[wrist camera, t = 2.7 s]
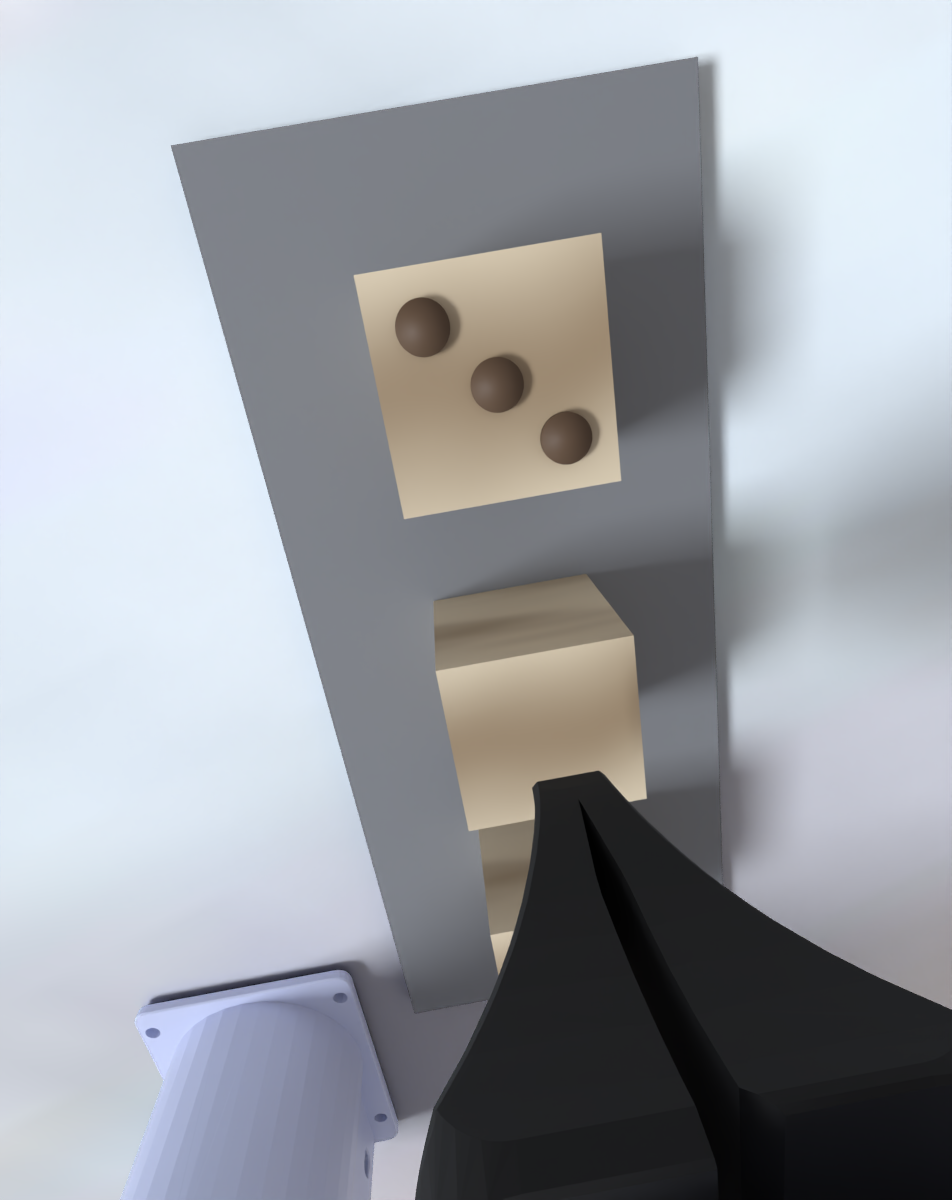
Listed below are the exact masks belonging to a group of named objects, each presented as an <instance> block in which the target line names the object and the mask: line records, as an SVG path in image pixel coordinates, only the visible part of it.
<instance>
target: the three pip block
mask: <svg viewBox="0 0 952 1200" xmlns="http://www.w3.org/2000/svg"><path fill="white" fill-rule="evenodd" d="M354 280H355V285H356V289H357V294H358V299H359V304H360V309H361V313H362V318H363V323H364V328H365V333H366V338H367V342H368V347H369V352H370V357H371V362H372V367H373V371H374V376H375V381H376V386H377V391H378V396H379V400H380V405H381V410H382V415H383V420H384V425H385V429H386V434H387V439H388V444H389V449H390V454H391V458H392V463H393V468H394V473H395V478H396V482H397V487H398V492H399V497H400V502H401V507H402V511H403V516H404V519H408V518H414V517H420V516H425V515H431V514H437V513H442V512H448V511H454V510H459V509H465V508H471V507H476V506H482V505H488V504H493V503H499V502H505V501H510V500H516V499H521V498H527V497H533V496H538V495H544V494H550V493H555V492H561V491H567V490H572V489H578V488H584V487H589V486H595V485H601V484H606V483H612V482H618V481H621V471H620V459H619V446H618V434H617V421H616V409H615V397H614V384H613V372H612V359H611V347H610V334H609V322H608V309H607V297H606V285H605V272H604V260H603V247H602V235H601V233H597V234H591V235H585V236H579V237H573V238H568V239H562V240H556V241H550V242H544V243H538V244H533V245H527V246H521V247H515V248H509V249H503V250H498V251H492V252H486V253H480V254H474V255H469V256H463V257H457V258H451V259H445V260H439V261H434V262H428V263H422V264H416V265H410V266H404V267H399V268H393V269H387V270H381V271H375V272H369V273H364V274H358V275H354Z"/></svg>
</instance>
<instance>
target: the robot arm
mask: <svg viewBox="0 0 952 1200" xmlns="http://www.w3.org/2000/svg"><path fill="white" fill-rule="evenodd" d="M532 791H533V797H534V804H535V821H534V835H533V843H532V851H531V859H530V865H529V870H528V875H527V880H526V885H525V889H524V894H523V899H522V903H521V907H520V911H519V915H518V918H517V922H516V925H515V929H514V932H513V935H512V939H511V942H510V945H509V948H508V951H507V954H506V956H505V959H504V962H503V965H502V968H501V970H500V973H499V976H498V979H497V981H496V984H495V986H494V989H493V991H492V994H491V996H490V998H489V1001H488V1003H487V1005H486V1007H485V1009H484V1012H483V1014H482V1016H481V1018H480V1020H479V1023H478V1025H477V1027H476V1029H475V1031H474V1034H473V1036H472V1038H471V1040H470V1042H469V1044H468V1046H467V1048H466V1050H465V1052H464V1054H463V1056H462V1058H461V1060H460V1062H459V1063H458V1065H457V1067H456V1069H455V1071H454V1072H453V1074H452V1076H451V1078H450V1080H449V1082H448V1083H447V1085H446V1087H445V1089H444V1091H443V1092H442V1094H441V1096H440V1098H439V1100H438V1101H437V1103H436V1105H435V1107H434V1109H433V1113H432V1117H431V1121H430V1125H429V1129H428V1133H427V1137H426V1142H425V1146H424V1151H423V1156H422V1160H421V1165H420V1170H419V1176H418V1182H417V1189H416V1197H415V1200H952V1010H951V1009H949V1008H946V1007H944V1006H942V1005H940V1004H937V1003H935V1002H933V1001H931V1000H928V999H926V998H924V997H921V996H919V995H917V994H915V993H912V992H910V991H908V990H906V989H903V988H901V987H899V986H896V985H894V984H892V983H890V982H887V981H885V980H883V979H881V978H878V977H876V976H874V975H872V974H870V973H868V972H866V971H864V970H862V969H860V968H858V967H856V966H854V965H852V964H850V963H848V962H847V961H845V960H843V959H841V958H839V957H837V956H835V955H833V954H831V953H829V952H827V951H825V950H824V949H822V948H820V947H818V946H817V945H815V944H813V943H811V942H810V941H808V940H806V939H805V938H803V937H801V936H799V935H798V934H796V933H794V932H793V931H791V930H789V929H788V928H786V927H784V926H782V925H781V924H779V923H777V922H776V921H774V920H772V919H771V918H769V917H768V916H766V915H765V914H763V913H762V912H760V911H759V910H757V909H756V908H754V907H753V906H751V905H750V904H748V903H747V902H745V901H744V900H743V899H741V898H740V897H738V896H737V895H736V894H734V893H733V892H731V891H730V890H729V889H727V888H726V887H724V886H723V885H722V884H720V883H719V882H718V881H717V880H715V879H714V878H713V877H711V876H710V875H709V874H708V873H706V872H705V871H704V870H702V869H701V868H700V867H699V866H698V865H696V864H695V863H694V862H693V861H692V860H690V859H689V858H688V857H687V856H686V855H684V854H683V853H682V852H681V851H680V850H679V849H678V848H676V847H675V846H674V845H673V844H672V843H671V842H670V841H669V840H667V839H666V838H665V837H664V836H663V835H662V834H661V833H660V832H659V831H658V830H657V829H656V828H655V827H654V826H652V825H651V824H650V823H649V822H648V821H647V820H646V819H645V818H644V817H643V816H642V815H641V814H640V813H639V812H638V811H637V810H636V809H635V808H634V807H633V806H632V805H631V804H630V803H629V801H628V800H627V799H626V798H625V797H624V796H623V795H622V794H621V793H620V792H619V791H618V790H617V788H616V787H615V786H614V785H613V784H612V783H611V781H610V780H609V779H608V778H607V777H606V775H605V774H603V773H602V772H600V771H599V770H598V771H593V772H587V773H582V774H577V775H571V776H566V777H560V778H555V779H549V780H544V781H538V782H536V784H535V785H534V786H533V787H532ZM135 1025H136V1027H137V1029H138V1031H139V1033H140V1035H141V1037H142V1039H143V1041H144V1043H145V1045H146V1047H147V1049H148V1051H149V1053H150V1055H151V1057H152V1059H153V1061H154V1062H155V1064H156V1066H157V1068H158V1070H159V1072H160V1074H161V1076H162V1078H163V1080H164V1081H163V1084H162V1087H161V1090H160V1092H159V1095H158V1098H157V1100H156V1103H155V1106H154V1109H153V1111H152V1114H151V1117H150V1119H149V1122H148V1125H147V1128H146V1130H145V1133H144V1136H143V1139H142V1141H141V1144H140V1147H139V1149H138V1152H137V1155H136V1158H135V1160H134V1163H133V1166H132V1169H131V1171H130V1174H129V1177H128V1179H127V1182H126V1185H125V1188H124V1190H123V1193H122V1196H121V1198H120V1200H371V1186H372V1171H373V1156H374V1142H379V1141H385V1140H389V1139H392V1138H394V1137H395V1136H396V1135H397V1133H398V1120H397V1117H396V1114H395V1110H394V1107H393V1104H392V1101H391V1098H390V1095H389V1092H388V1089H387V1086H386V1083H385V1079H384V1076H383V1073H382V1070H381V1067H380V1064H379V1061H378V1058H377V1055H376V1052H375V1048H374V1045H373V1042H372V1039H371V1036H370V1033H369V1030H368V1027H367V1024H366V1021H365V1017H364V1014H363V1011H362V1008H361V1005H360V1002H359V999H358V996H357V993H356V990H355V986H354V983H353V980H352V977H351V976H350V974H349V973H347V972H346V971H343V970H333V971H328V972H322V973H317V974H312V975H306V976H301V977H295V978H290V979H285V980H279V981H274V982H269V983H263V984H258V985H252V986H247V987H242V988H236V989H231V990H226V991H220V992H215V993H209V994H204V995H199V996H193V997H188V998H183V999H177V1000H172V1001H166V1002H161V1003H156V1004H150V1005H147V1006H144V1007H142V1008H141V1009H140V1010H139V1012H138V1014H137V1016H136V1019H135Z"/></svg>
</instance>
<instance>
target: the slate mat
mask: <svg viewBox="0 0 952 1200" xmlns="http://www.w3.org/2000/svg"><path fill="white" fill-rule="evenodd" d="M171 148H172V151H173V155H174V158H175V162H176V166H177V169H178V173H179V176H180V180H181V183H182V187H183V191H184V194H185V198H186V201H187V205H188V208H189V212H190V215H191V219H192V223H193V226H194V230H195V233H196V237H197V240H198V244H199V247H200V251H201V255H202V258H203V262H204V265H205V269H206V272H207V276H208V280H209V283H210V287H211V290H212V294H213V297H214V301H215V304H216V308H217V312H218V315H219V319H220V322H221V326H222V329H223V333H224V336H225V340H226V344H227V347H228V351H229V354H230V358H231V361H232V365H233V368H234V372H235V376H236V379H237V383H238V386H239V390H240V393H241V397H242V401H243V404H244V408H245V411H246V415H247V418H248V422H249V425H250V429H251V433H252V436H253V440H254V443H255V447H256V450H257V454H258V457H259V461H260V465H261V468H262V472H263V475H264V479H265V482H266V486H267V489H268V493H269V497H270V500H271V504H272V507H273V511H274V514H275V518H276V522H277V525H278V529H279V532H280V536H281V539H282V543H283V546H284V550H285V554H286V557H287V561H288V564H289V568H290V571H291V575H292V578H293V582H294V586H295V589H296V593H297V596H298V600H299V603H300V607H301V610H302V614H303V618H304V621H305V625H306V628H307V632H308V635H309V639H310V643H311V646H312V650H313V653H314V657H315V660H316V664H317V667H318V671H319V675H320V678H321V682H322V685H323V689H324V692H325V696H326V699H327V703H328V707H329V710H330V714H331V717H332V721H333V724H334V728H335V732H336V735H337V739H338V742H339V746H340V749H341V753H342V756H343V760H344V764H345V767H346V771H347V774H348V778H349V781H350V785H351V788H352V792H353V796H354V799H355V803H356V806H357V810H358V813H359V817H360V820H361V824H362V828H363V831H364V835H365V838H366V842H367V845H368V849H369V853H370V856H371V860H372V863H373V867H374V870H375V874H376V877H377V881H378V885H379V888H380V892H381V895H382V899H383V902H384V906H385V909H386V913H387V917H388V920H389V924H390V927H391V931H392V934H393V938H394V941H395V945H396V949H397V952H398V956H399V959H400V963H401V966H402V970H403V974H404V977H405V981H406V984H407V988H408V991H409V995H410V998H411V1002H412V1006H413V1009H414V1013H420V1012H426V1011H431V1010H437V1009H442V1008H447V1007H453V1006H458V1005H463V1004H469V1003H474V1002H479V1001H485V1000H489V998H490V996H491V994H492V991H493V989H494V986H495V984H496V981H497V979H498V976H499V975H498V970H497V965H496V960H495V956H494V951H493V946H492V941H491V936H490V928H489V920H488V911H487V902H486V893H485V884H484V876H483V867H482V858H481V849H480V840H479V831H478V830H473V831H469V830H468V825H467V820H466V816H465V811H464V806H463V801H462V796H461V791H460V787H459V782H458V777H457V772H456V767H455V763H454V758H453V753H452V748H451V743H450V738H449V734H448V729H447V724H446V719H445V714H444V709H443V705H442V700H441V695H440V690H439V685H438V680H437V676H436V669H435V638H434V606H433V601H437V600H443V599H448V598H454V597H459V596H465V595H471V594H476V593H482V592H487V591H493V590H499V589H504V588H510V587H515V586H521V585H526V584H532V583H538V582H543V581H549V580H554V579H560V578H566V577H571V576H577V575H582V574H587V576H588V577H589V578H590V580H591V581H592V582H593V583H594V585H595V586H596V587H597V589H598V590H599V591H600V593H601V594H602V595H603V596H604V598H605V599H606V600H607V602H608V603H609V604H610V605H611V607H612V608H613V609H614V611H615V612H616V613H617V615H618V616H619V617H620V618H621V620H622V621H623V622H624V624H625V625H626V626H627V627H628V629H629V630H630V631H631V633H632V634H633V635H634V646H635V658H636V670H637V683H638V695H639V708H640V720H641V733H642V745H643V758H644V770H645V783H646V795H647V799H642V800H636V801H631V802H629V803H630V804H631V805H632V806H633V807H634V808H635V809H636V810H637V811H638V812H639V813H640V814H641V815H642V816H643V817H644V818H645V819H646V820H647V821H648V822H649V823H650V824H651V825H652V826H654V827H655V828H656V829H657V830H658V831H659V832H660V833H661V834H662V835H663V836H664V837H665V838H666V839H667V840H669V841H670V842H671V843H672V844H673V845H674V846H675V847H676V848H678V849H679V850H680V851H681V852H682V853H683V854H684V855H686V856H687V857H688V858H689V859H690V860H692V861H693V862H694V863H695V864H696V865H698V866H699V867H700V868H701V869H702V870H704V871H705V872H706V873H708V874H709V875H710V876H711V877H713V878H714V879H715V880H717V881H718V882H719V883H720V884H722V885H723V881H722V848H721V814H720V781H719V748H718V715H717V681H716V648H715V615H714V581H713V548H712V515H711V482H710V448H709V415H708V382H707V349H706V315H705V282H704V249H703V216H702V182H701V149H700V116H699V83H698V57H694V58H688V59H683V60H677V61H671V62H665V63H659V64H653V65H647V66H641V67H635V68H629V69H623V70H617V71H611V72H605V73H599V74H593V75H587V76H582V77H576V78H570V79H564V80H558V81H552V82H546V83H540V84H534V85H528V86H522V87H516V88H510V89H504V90H498V91H492V92H486V93H481V94H475V95H469V96H463V97H457V98H451V99H445V100H439V101H433V102H427V103H421V104H415V105H409V106H403V107H397V108H391V109H385V110H379V111H374V112H368V113H362V114H356V115H350V116H344V117H338V118H332V119H326V120H320V121H314V122H308V123H302V124H296V125H290V126H284V127H278V128H273V129H267V130H261V131H255V132H249V133H243V134H237V135H231V136H225V137H219V138H213V139H207V140H201V141H195V142H189V143H183V144H177V145H171ZM597 233H601V235H602V247H603V260H604V272H605V285H606V297H607V309H608V322H609V334H610V347H611V359H612V372H613V384H614V397H615V409H616V421H617V434H618V446H619V459H620V471H621V481H618V482H612V483H606V484H601V485H595V486H589V487H584V488H578V489H572V490H567V491H561V492H555V493H550V494H544V495H538V496H533V497H527V498H521V499H516V500H510V501H505V502H499V503H493V504H488V505H482V506H476V507H471V508H465V509H459V510H454V511H448V512H442V513H437V514H431V515H425V516H420V517H414V518H408V519H404V516H403V511H402V507H401V502H400V497H399V492H398V487H397V482H396V478H395V473H394V468H393V463H392V458H391V454H390V449H389V444H388V439H387V434H386V429H385V425H384V420H383V415H382V410H381V405H380V400H379V396H378V391H377V386H376V381H375V376H374V371H373V367H372V362H371V357H370V352H369V347H368V342H367V338H366V333H365V328H364V323H363V318H362V313H361V309H360V304H359V299H358V294H357V289H356V285H355V280H354V275H358V274H364V273H369V272H375V271H381V270H387V269H393V268H399V267H404V266H410V265H416V264H422V263H428V262H434V261H439V260H445V259H451V258H457V257H463V256H469V255H474V254H480V253H486V252H492V251H498V250H503V249H509V248H515V247H521V246H527V245H533V244H538V243H544V242H550V241H556V240H562V239H568V238H573V237H579V236H585V235H591V234H597Z"/></svg>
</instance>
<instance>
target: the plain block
mask: <svg viewBox="0 0 952 1200" xmlns="http://www.w3.org/2000/svg"><path fill="white" fill-rule="evenodd" d="M433 606H434V638H435V669H436V676H437V680H438V685H439V690H440V695H441V700H442V705H443V709H444V714H445V719H446V724H447V729H448V734H449V738H450V743H451V748H452V753H453V758H454V763H455V767H456V772H457V777H458V782H459V787H460V791H461V796H462V801H463V806H464V811H465V816H466V820H467V825H468V830H469V831H473V830H479V829H484V828H490V827H495V826H500V825H506V824H511V823H517V822H522V821H528V820H533V819H535V804H534V797H533V791H532V787H533V786H534V785H535V784H536V782H538V781H544V780H549V779H555V778H560V777H566V776H571V775H577V774H582V773H587V772H593V771H598V770H599V771H600V772H602V773H603V774H605V775H606V777H607V778H608V779H609V780H610V781H611V783H612V784H613V785H614V786H615V787H616V788H617V790H618V791H619V792H620V793H621V794H622V795H623V796H624V797H625V798H626V799H627V800H628V801H629V802H631V801H636V800H642V799H647V795H646V783H645V770H644V758H643V745H642V733H641V720H640V708H639V695H638V683H637V670H636V658H635V646H634V635H633V634H632V633H631V631H630V630H629V629H628V627H627V626H626V625H625V624H624V622H623V621H622V620H621V618H620V617H619V616H618V615H617V613H616V612H615V611H614V609H613V608H612V607H611V605H610V604H609V603H608V602H607V600H606V599H605V598H604V596H603V595H602V594H601V593H600V591H599V590H598V589H597V587H596V586H595V585H594V583H593V582H592V581H591V580H590V578H589V577H588V576H587V574H582V575H577V576H571V577H566V578H560V579H554V580H549V581H543V582H538V583H532V584H526V585H521V586H515V587H510V588H504V589H499V590H493V591H487V592H482V593H476V594H471V595H465V596H459V597H454V598H448V599H443V600H437V601H433Z"/></svg>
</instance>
